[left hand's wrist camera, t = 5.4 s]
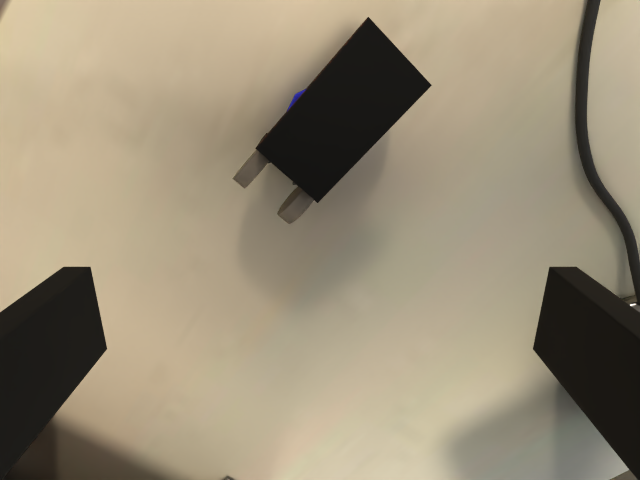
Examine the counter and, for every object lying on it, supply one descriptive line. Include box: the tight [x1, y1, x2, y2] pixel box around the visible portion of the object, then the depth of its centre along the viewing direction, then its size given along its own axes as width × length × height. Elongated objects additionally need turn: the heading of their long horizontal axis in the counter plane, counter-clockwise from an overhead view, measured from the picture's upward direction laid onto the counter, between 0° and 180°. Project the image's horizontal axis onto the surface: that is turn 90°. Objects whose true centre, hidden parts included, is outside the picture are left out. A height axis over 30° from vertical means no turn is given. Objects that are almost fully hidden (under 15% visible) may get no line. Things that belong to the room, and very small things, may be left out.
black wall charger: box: [233, 17, 431, 224], centre depth 33 cm, size 7×8×15 cm
